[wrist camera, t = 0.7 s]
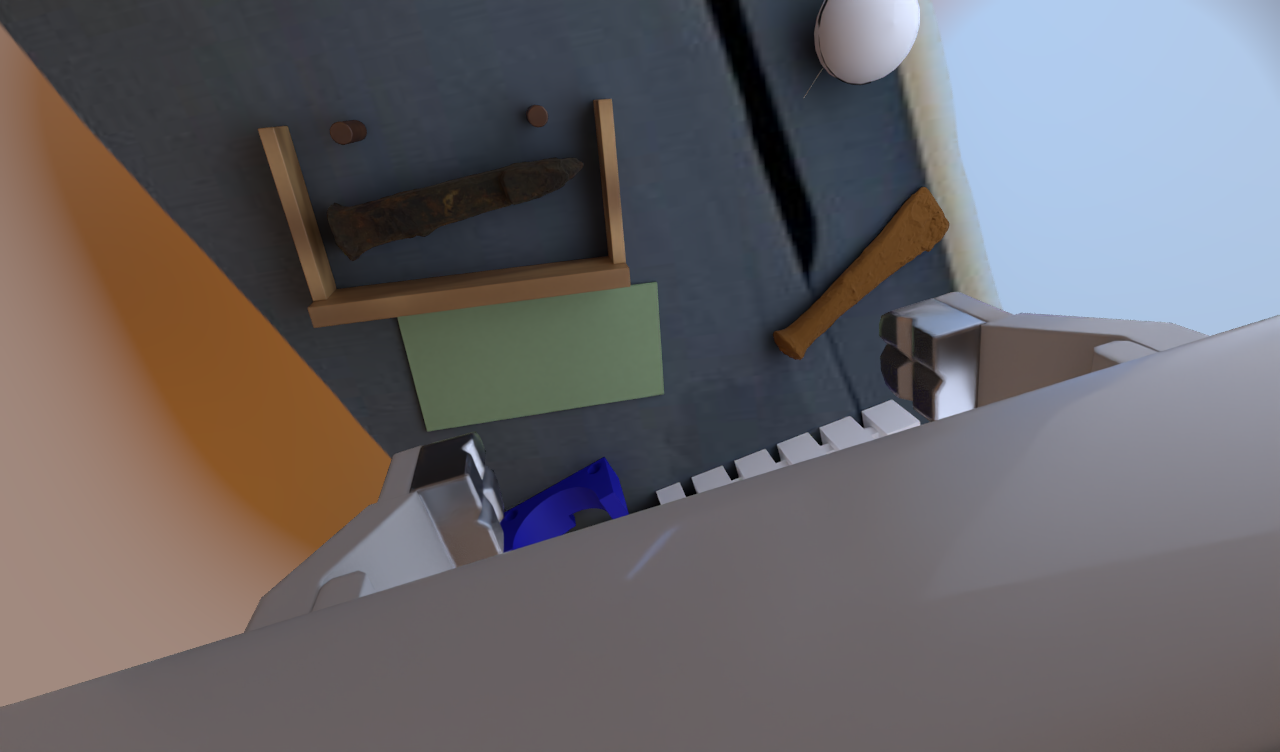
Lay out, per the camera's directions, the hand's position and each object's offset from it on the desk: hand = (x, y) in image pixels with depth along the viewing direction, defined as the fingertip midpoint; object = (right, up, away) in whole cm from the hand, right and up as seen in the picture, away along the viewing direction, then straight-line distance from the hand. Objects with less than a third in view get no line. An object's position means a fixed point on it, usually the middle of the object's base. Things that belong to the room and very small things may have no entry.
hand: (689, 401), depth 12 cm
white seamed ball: (+14, +27, +36) cm, 47 cm away
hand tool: (-15, +15, +35) cm, 41 cm away
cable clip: (-9, -12, +49) cm, 51 cm away
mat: (-10, +2, +42) cm, 43 cm away
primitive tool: (+19, +10, +45) cm, 50 cm away
